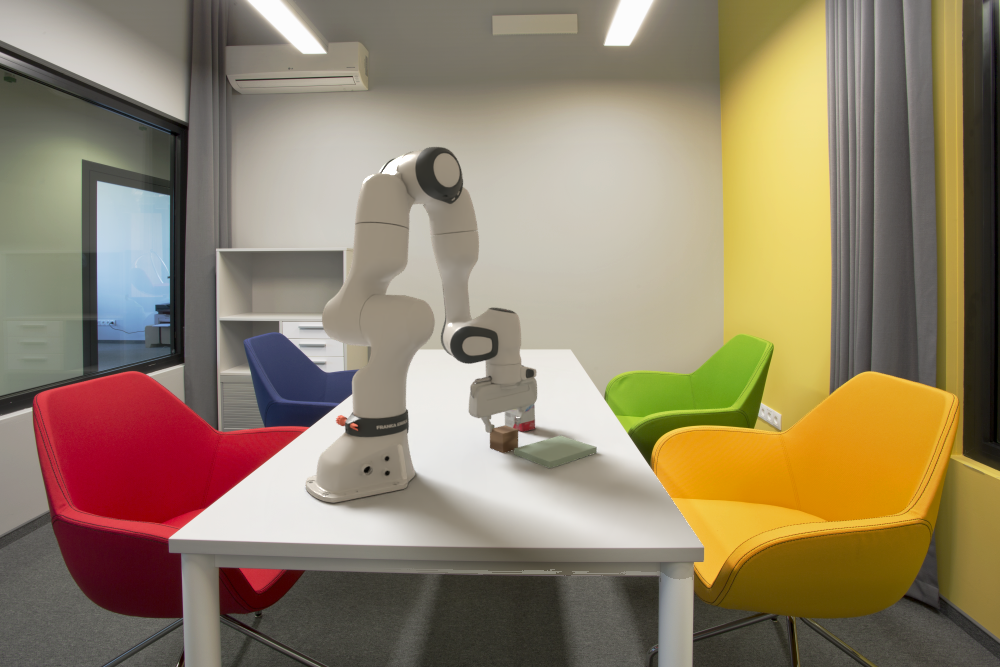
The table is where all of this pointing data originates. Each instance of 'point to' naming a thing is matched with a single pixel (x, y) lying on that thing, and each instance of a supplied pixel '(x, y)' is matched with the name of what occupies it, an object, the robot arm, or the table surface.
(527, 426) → the ink box
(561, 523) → the table surface
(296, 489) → the table surface
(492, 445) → the walnut cube
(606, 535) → the table surface
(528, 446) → the sage board
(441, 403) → the table surface
